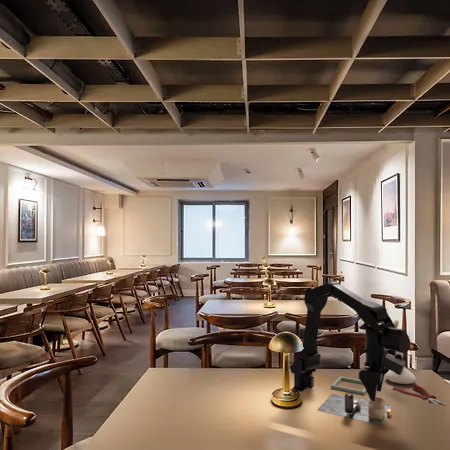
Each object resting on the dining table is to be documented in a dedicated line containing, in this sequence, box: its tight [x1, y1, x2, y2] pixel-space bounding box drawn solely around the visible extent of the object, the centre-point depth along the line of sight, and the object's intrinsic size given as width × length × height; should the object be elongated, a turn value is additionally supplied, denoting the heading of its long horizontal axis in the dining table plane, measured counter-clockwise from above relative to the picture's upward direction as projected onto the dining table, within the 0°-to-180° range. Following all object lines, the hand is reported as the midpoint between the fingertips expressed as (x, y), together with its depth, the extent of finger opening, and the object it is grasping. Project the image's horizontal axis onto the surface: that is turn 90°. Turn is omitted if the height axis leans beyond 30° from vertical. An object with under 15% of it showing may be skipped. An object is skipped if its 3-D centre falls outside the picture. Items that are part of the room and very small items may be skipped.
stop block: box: [368, 396, 386, 420], centre depth 124 cm, size 4×4×5 cm
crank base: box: [316, 393, 393, 426], centre depth 130 cm, size 21×17×3 cm
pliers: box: [392, 384, 448, 407], centre depth 140 cm, size 12×20×3 cm, turn 18°
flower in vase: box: [384, 319, 417, 385], centre depth 158 cm, size 13×11×25 cm
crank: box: [344, 392, 361, 414], centre depth 127 cm, size 10×4×6 cm, turn 148°
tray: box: [330, 375, 367, 396], centre depth 149 cm, size 12×12×2 cm
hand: (376, 396), depth 124 cm, fingers open, 9 cm apart
